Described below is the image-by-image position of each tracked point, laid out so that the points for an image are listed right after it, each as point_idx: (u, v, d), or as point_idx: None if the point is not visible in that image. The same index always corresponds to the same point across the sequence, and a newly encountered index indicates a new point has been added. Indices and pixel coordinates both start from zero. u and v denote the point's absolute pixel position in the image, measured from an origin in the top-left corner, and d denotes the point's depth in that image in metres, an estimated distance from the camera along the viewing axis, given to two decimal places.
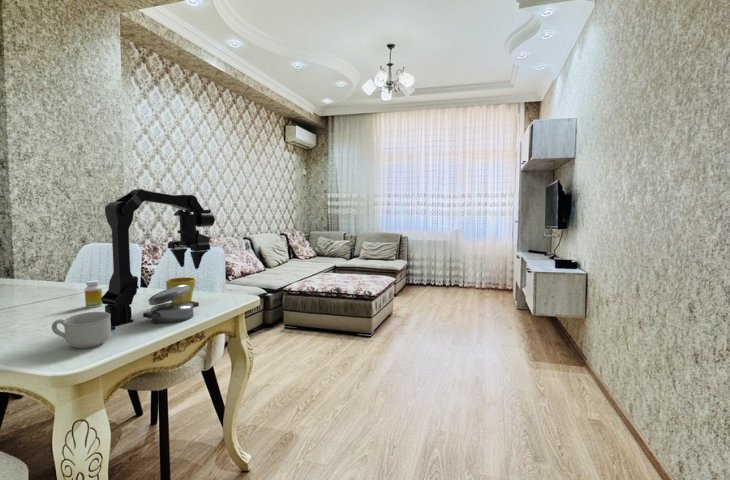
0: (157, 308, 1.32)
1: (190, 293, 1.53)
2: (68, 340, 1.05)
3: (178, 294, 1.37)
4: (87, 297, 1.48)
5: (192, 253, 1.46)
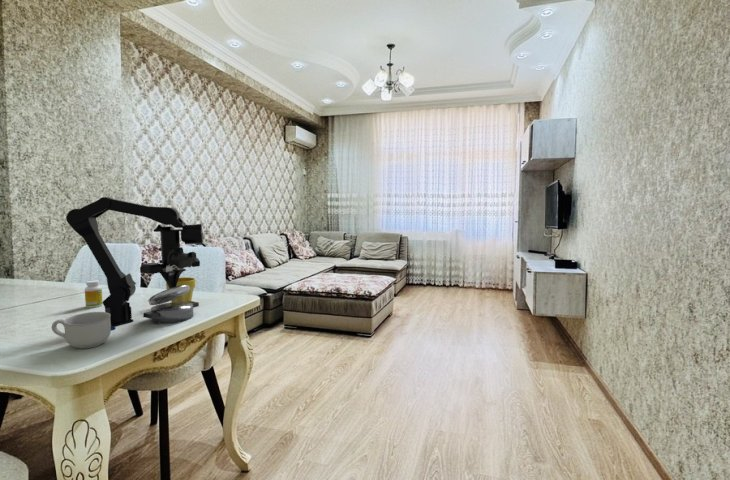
0: (157, 308, 1.32)
1: (190, 293, 1.53)
2: (68, 340, 1.05)
3: (178, 294, 1.37)
4: (87, 297, 1.48)
5: None
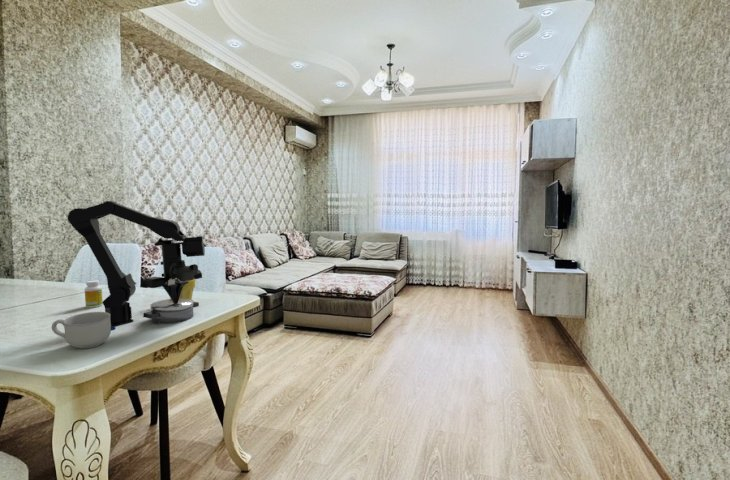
0: None
1: (190, 293, 1.53)
2: (68, 340, 1.05)
3: None
4: (87, 297, 1.48)
5: None
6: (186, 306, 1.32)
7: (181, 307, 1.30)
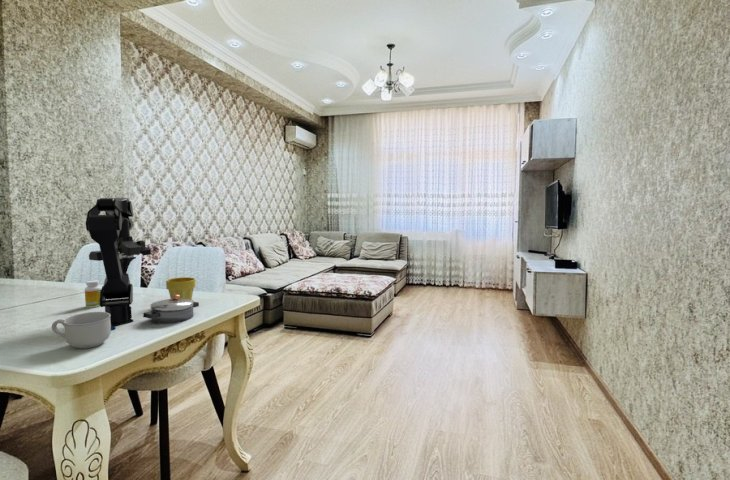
0: None
1: (190, 293, 1.53)
2: (68, 340, 1.05)
3: None
4: (87, 297, 1.48)
5: None
6: (186, 306, 1.32)
7: (181, 307, 1.30)
